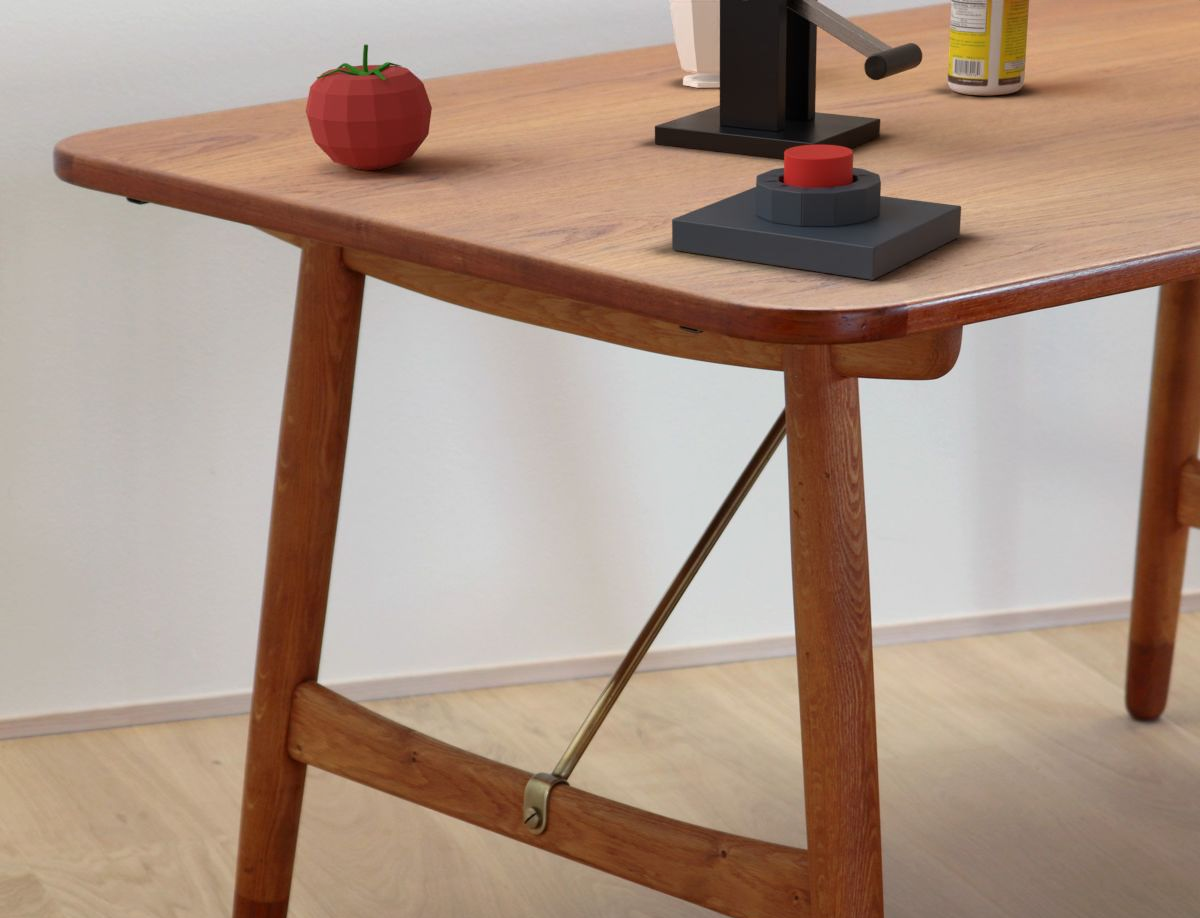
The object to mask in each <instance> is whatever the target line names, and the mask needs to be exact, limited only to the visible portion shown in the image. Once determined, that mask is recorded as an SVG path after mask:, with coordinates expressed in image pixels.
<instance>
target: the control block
mask: <svg viewBox="0 0 1200 918" xmlns="http://www.w3.org/2000/svg"><path fill="white" fill-rule="evenodd" d="M881 191H882V181H881V176H880V174H879V173H875V172H872V171H869V170H867V169H865V168H861V167H853V180H852V184H849V185H843V186H836V187H809V188H808V187H800V186H792V185H787V184H784V167H780V168H774V169H773V168H772V169H771V170H768V171H765V172H763V173H759V174H757V175H756V181H755V186H754V187H752V188H749V189H746V190H744V191H741V192H739V193H736V194H734V195H731V196H728V197H726V198H723V199H720V200H718V201H715V202H712V203H710V204H707V205H705V206H702V207H700V208H697V209H695V210H692V211H689V212H688V213H685V214H681V215H680V216H679V215H678V216H677V217H674V218H672V219H671V248H672V251H677V252H684V253H690V254H697V255H703V256H711V257H717V258H724V259H728V260H729V259H730V260H736V261H743V262H750V263H756V264H763V265H770V266H776V267H784V268H790V269H798V270H803V271H809V272H815V273H816V272H817V273H824V274H829V275H837V276H843V277H848V278H849V277H851V278H857V279H861V280H862V279H863V280H864V279H865V280H870V281H874V280H877V278H880V277H882V276H884V275H886V274H888V273H890V272H892V271H894V270H896V269H898V268H900V267H902V266H903V265H906V264H907V263H910V262H911V261H914V260H916V259H919V258H920V257H922V256H923V255H926V254H928V253H929V252H932V251H935V250H936V249H938V248H940V247H941V246H944V245H946V244H947V243H949V242H952V241H954V240H956V239H957V238H960V235H961V220H962V219H961V218H962V206H961V205H956V204H950V203H949V204H948V203H940V202H933V201H926V200H925V201H924V200H916V199H909V198H900V197H891V196H885V195H884V196H883V195H882V194H881Z"/></svg>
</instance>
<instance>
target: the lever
mask: <svg viewBox="0 0 1200 918" xmlns="http://www.w3.org/2000/svg"><path fill="white" fill-rule="evenodd" d="M787 8H790V9H791V10H793V11H794V12H796V13H797V14H799V15H801V16H802V17H804V18H805V19H807V20H809V21H810V22H812V23H813V24H815V25H817V28H820V29H821V30H823V31H824V32H826V33H827V34H829V35H831V36H832V37H834V38H835V39H837V40H839V41H840V42H842V43H843V44H845V45H847V46H848V47H850V48H852V49H853V50H855V51H856V52H857V53H859V54H861V55H863V56H864V57H866V60H865V62H864V66H863V67H864V72H865V74H866V76H867V77H868V78H869V79H871V80H872V81H879V80H880V81H881V80H883V79H886V78H889V77H891V76H892V77H893V76H894V75H898V74H901V73H904V72H906V71H909V70H912V69H915V68H917V67H918V66H920V64H921V63H922V61H923V51H922V49H921V47H920V46H919V45H918V44H917V43H914V42H908V43H905V44H902V45H899V46H896V47H892V46H890V45H889V44H887V43H885V42H884V41H882V40H880V39H879V38H878V37H876V36H875V35H873V34H871V33H869V32H868V31H866V30H864V29H863V28H861V27H859V26H858V25H856V24H855V23H854V22H852V21H850V20H848V19H847V18H845V17H844V16H842V15H840V14H838V13H837V12H835V11H834V10H832V9H831V8H829V7H828V6H827V5H824V4H822V2H819V0H818V1H816V0H787Z"/></svg>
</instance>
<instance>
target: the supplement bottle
mask: <svg viewBox="0 0 1200 918" xmlns="http://www.w3.org/2000/svg"><path fill="white" fill-rule="evenodd" d="M1029 9H1030V0H950V21H949V22H950V23H949V42H948V43H949V45H948V64H947V65H948V66H947V84H948V87H949V89H950V90H952V91H953V92H955V93H958V94H963V95H968V96H987V97H988V96H1001V95H1009V94H1013V93H1015V92H1018V91H1020V90H1021V89H1022V87H1023V86H1024V83H1025V75H1026V58H1027V57H1026V56H1027V41H1028V28H1029V27H1028V25H1029V11H1030V10H1029Z"/></svg>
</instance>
